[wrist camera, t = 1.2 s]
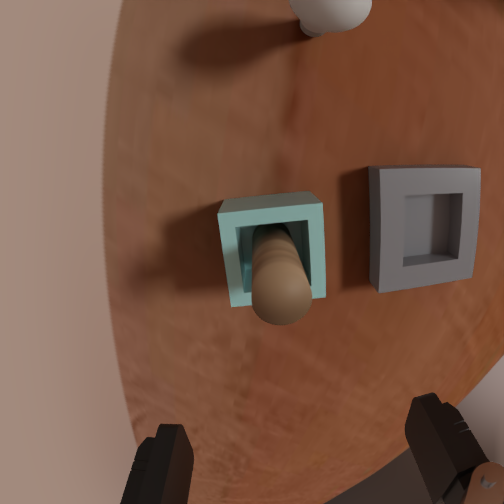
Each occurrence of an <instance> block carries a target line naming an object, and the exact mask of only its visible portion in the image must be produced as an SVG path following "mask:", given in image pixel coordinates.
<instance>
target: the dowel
mask: <svg viewBox="0 0 504 504" xmlns="http://www.w3.org/2000/svg"><path fill="white" fill-rule="evenodd" d="M251 301H252V307H253V309H254V311H255V313H256V314H257V315H258V316H259V317H260V318H261V319H262V320H264V321H265V322H267V323H270V324H274V325H287V324H291V323H294V322H296V321H298V320H299V319H301V318H302V317H303V316H304V315H305V314H306V313H307V312H308V310H309V308H310V306H311V303H312V291H311V288H310V285H309V282H308V280H307V277H306V274H305V271H304V269H303V266H302V263H301V261H300V258H299V255H298V253H297V250H296V247H295V245H294V242H293V239H292V237H291V234H290V232H289V230H288V228H287V227H286V226H285V225H284V224H283V223H281V222H280V223H270V224H260V225H258V226H257V227H256V229H255V230H254V233H253V236H252V293H251Z"/></svg>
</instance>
